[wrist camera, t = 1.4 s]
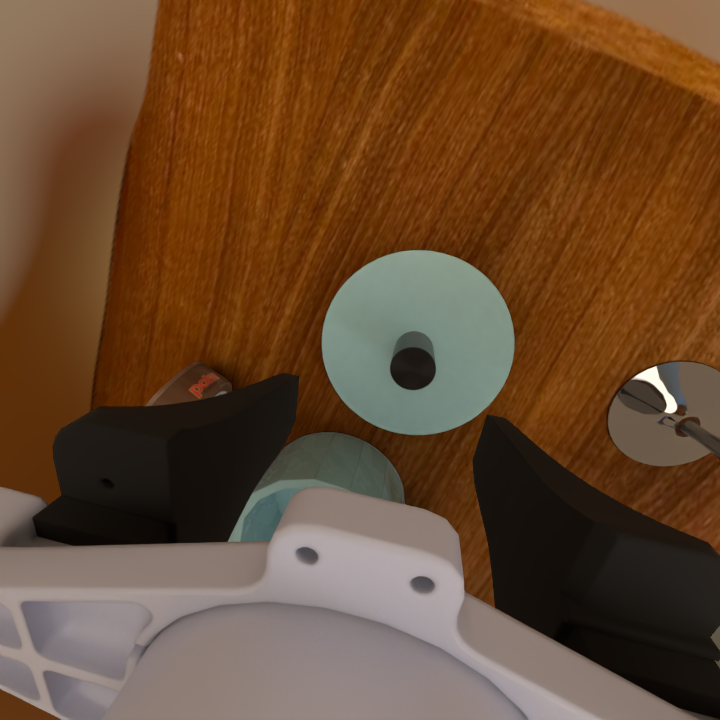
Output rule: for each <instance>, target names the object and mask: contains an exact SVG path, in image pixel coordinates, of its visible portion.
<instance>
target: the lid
mask: <svg viewBox="0 0 720 720" xmlns="http://www.w3.org/2000/svg"><path fill="white" fill-rule="evenodd" d="M514 344H515V337H514V328H513V323H512V319H511V316H510V312H509V310H508V308H507V305H506V303H505V301H504V299H503V298H502V296H501V294H500V293H499V291H498V290H497V288H496V287H495V286H494V285H493V284H492V282H491V281H490V280H489V279H488V278H487V277H486V276H485V275H484V274H482V273H481V272H480V271H479V270H478V269H476V268H475V267H473V266H472V265H470V264H469V263H467V262H465V261H463V260H461V259H459V258H457V257H454V256H451V255H448V254H445V253H440V252H435V251H428V250H411V251H401V252H397V253H393V254H389V255H386V256H383V257H381V258H378V259H376V260H374V261H372V262H370V263H369V264H367V265H365V266H364V267H362V268H361V269H359V270H358V271H357V272H355V273H354V274H353V275H352V276H351V277H350V278H349V279H348V280H347V281H346V282H345V283H344V284H343V286H342V287H341V288H340V289H339V291H338V292H337V294H336V295H335V297H334V299H333V300H332V302H331V304H330V307H329V309H328V311H327V314H326V317H325V321H324V324H323V331H322V355H323V361H324V365H325V369H326V372H327V374H328V377H329V379H330V382H331V383H332V385H333V387H334V389H335V391H336V392H337V394H338V395H339V396H340V398H341V399H342V400H343V401H344V403H345V404H346V405H347V406H348V407H349V408H350V409H351V410H352V411H354V412H355V413H356V414H357V415H358V416H360V417H361V418H363V419H364V420H366V421H367V422H369V423H371V424H373V425H375V426H377V427H380V428H382V429H385V430H388V431H391V432H396V433H400V434H408V435H428V434H436V433H440V432H444V431H448V430H450V429H453V428H456V427H458V426H460V425H462V424H464V423H466V422H468V421H470V420H471V419H473V418H474V417H476V416H477V415H479V414H480V413H481V412H482V411H483V410H484V409H485V408H487V407H488V406H489V404H490V403H491V402H492V401H493V400H494V399H495V398H496V396H497V395H498V393H499V392H500V390H501V389H502V387H503V385H504V383H505V381H506V379H507V377H508V375H509V372H510V369H511V365H512V361H513V356H514Z"/></svg>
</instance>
